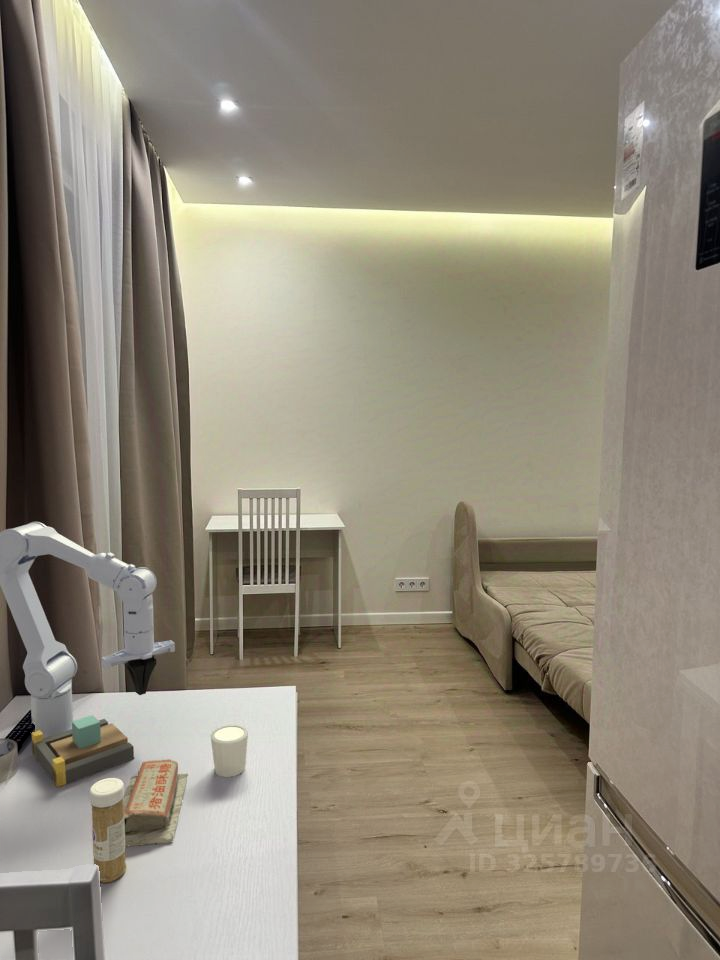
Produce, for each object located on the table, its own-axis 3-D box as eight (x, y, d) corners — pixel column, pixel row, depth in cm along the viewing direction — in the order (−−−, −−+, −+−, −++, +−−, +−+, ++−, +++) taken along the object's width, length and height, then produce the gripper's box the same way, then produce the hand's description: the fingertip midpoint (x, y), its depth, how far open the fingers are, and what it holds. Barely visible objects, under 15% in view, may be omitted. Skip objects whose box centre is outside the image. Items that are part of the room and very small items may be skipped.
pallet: (50, 758, 122) (50, 743, 122) (112, 737, 131) (112, 723, 130) (64, 775, 117) (63, 760, 116) (128, 752, 125) (127, 737, 124)
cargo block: (72, 741, 123) (71, 721, 123) (93, 734, 126) (92, 714, 125) (79, 749, 120) (78, 729, 120) (100, 741, 123) (100, 722, 122)
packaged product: (130, 758, 114) (187, 754, 115) (131, 783, 114) (188, 779, 116) (105, 822, 96) (172, 816, 98) (106, 851, 97) (173, 845, 98)
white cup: (231, 754, 123) (230, 720, 123) (256, 766, 119) (255, 731, 118) (203, 770, 118) (202, 735, 117) (228, 783, 114) (228, 746, 113)
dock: (32, 753, 123) (31, 732, 123) (104, 730, 133) (103, 710, 132) (57, 787, 112) (56, 764, 112) (133, 758, 122) (133, 737, 121)
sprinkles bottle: (87, 874, 91) (83, 786, 90) (117, 857, 95) (113, 772, 93) (103, 889, 88) (99, 799, 87) (133, 871, 92) (129, 784, 90)
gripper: (110, 642, 121) (113, 710, 122) (181, 626, 130) (182, 689, 132) (97, 633, 126) (99, 698, 127) (165, 617, 135) (167, 678, 137)
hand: (140, 692), depth 130 cm, fingers closed
